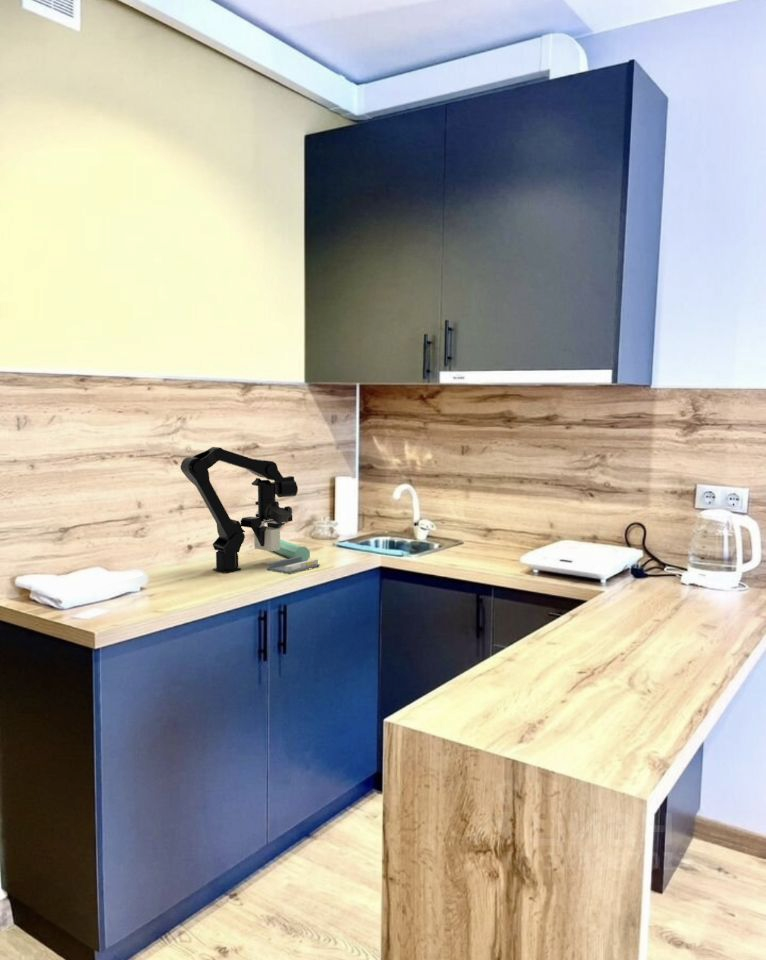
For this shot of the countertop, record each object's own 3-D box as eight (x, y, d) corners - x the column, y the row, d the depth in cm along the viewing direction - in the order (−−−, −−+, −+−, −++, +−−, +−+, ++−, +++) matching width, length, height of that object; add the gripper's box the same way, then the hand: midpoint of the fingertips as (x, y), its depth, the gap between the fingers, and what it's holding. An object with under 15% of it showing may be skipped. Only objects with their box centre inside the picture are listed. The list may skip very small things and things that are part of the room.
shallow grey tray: (289, 574, 236) (289, 566, 235) (267, 569, 242) (267, 562, 241) (319, 566, 247) (319, 559, 246) (297, 562, 253) (297, 555, 252)
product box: (271, 551, 245) (271, 530, 245) (254, 548, 250) (254, 527, 249) (280, 549, 249) (280, 528, 248) (263, 546, 253) (263, 526, 253)
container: (269, 534, 274) (297, 543, 252) (283, 539, 277) (312, 549, 255) (263, 549, 273) (291, 560, 252) (277, 554, 276) (306, 565, 255)
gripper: (263, 503, 235) (264, 552, 237) (304, 497, 250) (304, 543, 252) (238, 500, 242) (239, 548, 244) (280, 495, 257) (280, 540, 259)
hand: (267, 545), depth 249 cm, fingers closed on product box, 4 cm apart
